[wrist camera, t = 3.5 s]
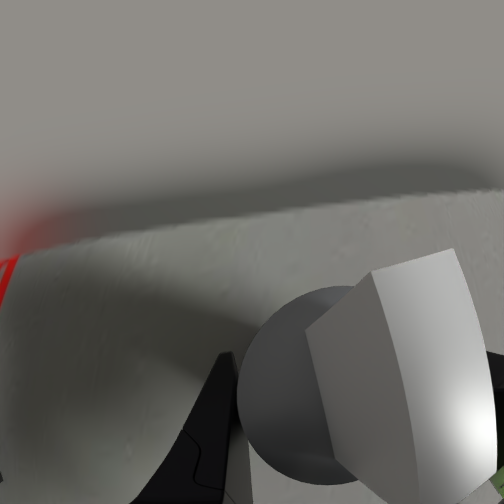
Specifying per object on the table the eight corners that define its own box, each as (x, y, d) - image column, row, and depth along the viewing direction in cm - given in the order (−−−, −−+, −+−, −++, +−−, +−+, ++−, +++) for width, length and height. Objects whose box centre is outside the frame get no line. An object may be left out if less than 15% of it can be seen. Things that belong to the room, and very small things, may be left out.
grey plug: (335, 406, 14) (554, 443, 1) (255, 427, 13) (275, 611, 1) (317, 331, 15) (492, 183, 3) (237, 349, 15) (177, 230, 3)
